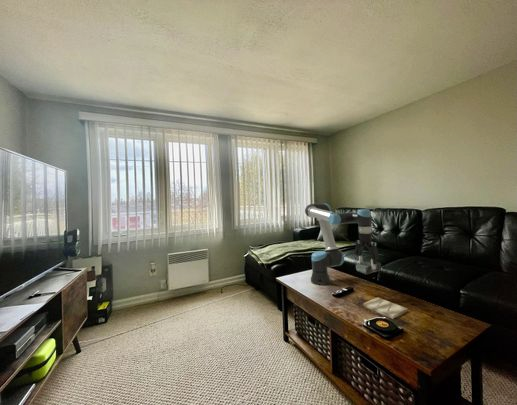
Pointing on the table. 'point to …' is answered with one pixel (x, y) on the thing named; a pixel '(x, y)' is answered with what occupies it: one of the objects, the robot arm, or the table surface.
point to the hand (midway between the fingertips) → (367, 267)
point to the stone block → (368, 267)
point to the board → (385, 307)
